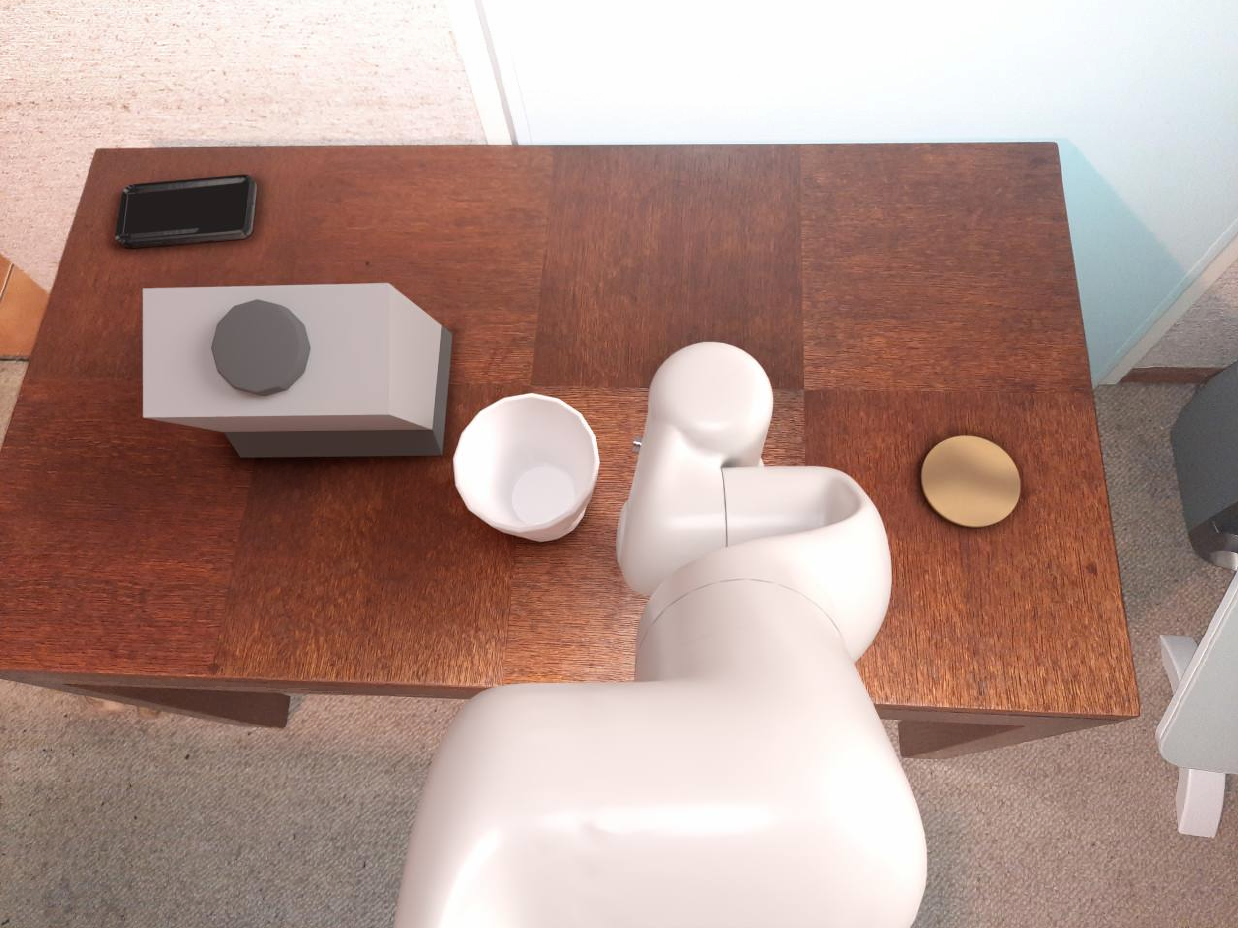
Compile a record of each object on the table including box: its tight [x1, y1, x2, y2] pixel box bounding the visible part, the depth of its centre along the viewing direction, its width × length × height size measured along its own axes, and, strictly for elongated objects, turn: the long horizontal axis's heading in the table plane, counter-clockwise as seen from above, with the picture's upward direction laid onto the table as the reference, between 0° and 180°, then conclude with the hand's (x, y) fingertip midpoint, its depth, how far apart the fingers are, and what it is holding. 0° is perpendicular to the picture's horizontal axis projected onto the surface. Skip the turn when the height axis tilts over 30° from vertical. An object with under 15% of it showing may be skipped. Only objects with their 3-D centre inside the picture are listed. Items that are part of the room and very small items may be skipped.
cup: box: [452, 392, 600, 543], centre depth 77 cm, size 12×12×11 cm
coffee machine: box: [142, 282, 454, 458], centre depth 77 cm, size 20×16×20 cm
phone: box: [114, 173, 258, 249], centre depth 95 cm, size 8×1×15 cm
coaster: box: [920, 435, 1021, 529], centre depth 80 cm, size 9×9×1 cm
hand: (697, 529), depth 78 cm, fingers closed
